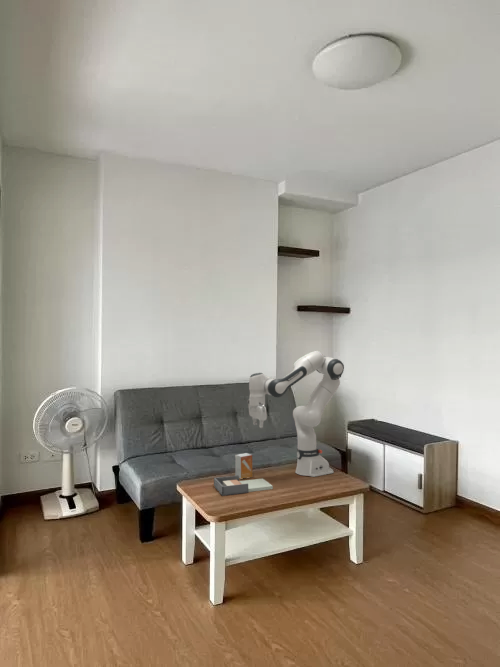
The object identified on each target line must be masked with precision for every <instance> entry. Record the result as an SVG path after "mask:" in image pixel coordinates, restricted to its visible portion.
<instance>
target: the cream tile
mask: <svg viewBox="0 0 500 667" xmlns="http://www.w3.org/2000/svg"><path fill="white" fill-rule="evenodd" d="M230 485H234V484H233V483H232V482H231V481H230V480H228V481H223V486H230Z"/></svg>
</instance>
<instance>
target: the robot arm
mask: <svg viewBox="0 0 500 667" xmlns="http://www.w3.org/2000/svg"><path fill="white" fill-rule="evenodd" d="M292 368H293V370H292V371H290V372H289V373H288V374H287V375H285V376H284V377H282V378H272V377H270V376H267V375H265V374H264V373H262V372H256V373H253V374H250V376H249V380H248V389H249V399H247V405H248V414H249V417H251V419H252V422H253V426H258V427H259V428H260V429H263V428H264V421H267V420H268V419H267V418H268V415H267V408H266V406H265V405H266V395H268V396H271V397H273V398H281V397H283V396H284V395H285V394H286V393H287V391H288V390H289V389H290V388H291V387H293V385H295V384H296V383H298V382H299V381H300V380H302V379H304V378H305V377H307V376H309V375H311V374H312V373H314V372H315V371H316V372H318V373H319V374H322V375H323V376H322V379H321V381H320V382H319V383H318V384H317V386H316V387H315V388H314V390H313V391H312V392H311V393H310V396H309V400H308V402H307V404H306V405H298V406H296V407H295V408H294V409H293V410H292V418H293V420H294V424H295V430H296V435H297V437H296V438H297V448H296V459H297V462H296V463H297V464H296V468H295V474H297V475H300V476H304V477H305V476H307V477H308V476H309V477H319V476H325V475H330V474H334V469H333V468H331V467H330V464H329V461H328V460H327V459H325V458H324V457H323V456H322V455H320V454H323V450H322V449H319V448H317V434H316V432H315V429H314V428H316V427H317V426H319V425H320V424H321V421H322V415H323V413H324V411H325V409H326V406H327V405H328V404H329V402H330V401H331V399H332V398H333V396H334V395H336V392H337V390H338V389H339V386H340V385H341V380H340V378H342V375H343V373H344V370H345V365H344V362H342V361H341V359H338V358H334V357H331V356H325V355H323V354H322V352H321V351H320V350H319V351H318V350H314V351H311V352H308V353H306V354H305V355H303V356H301V357H299V358H298V359H297V360H295V362H294V363H293V367H292ZM257 420H259V424H258V421H257Z"/></svg>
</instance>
